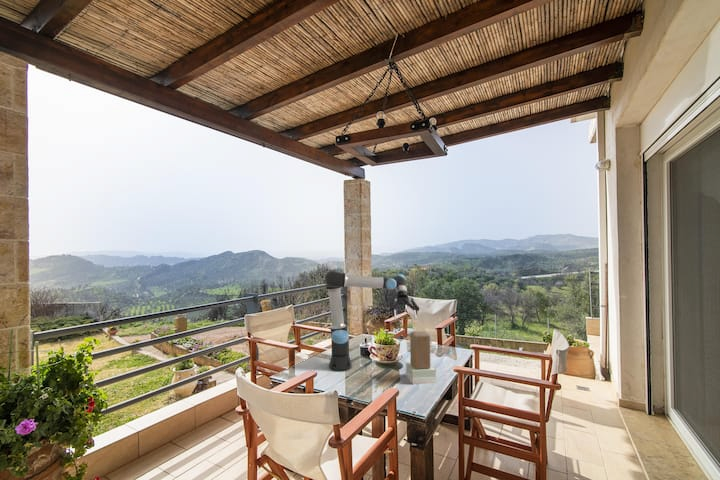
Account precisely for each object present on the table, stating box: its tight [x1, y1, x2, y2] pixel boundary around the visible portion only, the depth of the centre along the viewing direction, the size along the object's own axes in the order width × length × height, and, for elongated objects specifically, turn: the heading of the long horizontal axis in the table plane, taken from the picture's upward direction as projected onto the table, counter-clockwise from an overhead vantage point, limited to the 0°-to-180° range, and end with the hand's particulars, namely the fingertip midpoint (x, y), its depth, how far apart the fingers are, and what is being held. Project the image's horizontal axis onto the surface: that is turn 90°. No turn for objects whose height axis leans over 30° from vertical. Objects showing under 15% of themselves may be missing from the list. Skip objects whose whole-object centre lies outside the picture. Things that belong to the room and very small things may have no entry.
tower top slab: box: [405, 362, 437, 378], centre depth 197 cm, size 14×14×4 cm
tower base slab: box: [405, 369, 437, 385], centre depth 196 cm, size 14×14×4 cm
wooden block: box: [409, 330, 431, 369], centre depth 196 cm, size 10×10×20 cm
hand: (405, 319), depth 214 cm, fingers open, 13 cm apart
